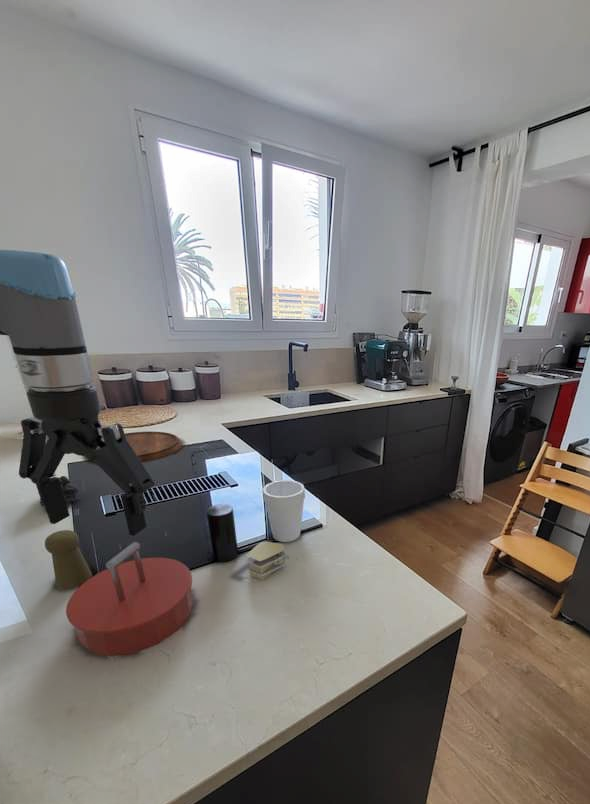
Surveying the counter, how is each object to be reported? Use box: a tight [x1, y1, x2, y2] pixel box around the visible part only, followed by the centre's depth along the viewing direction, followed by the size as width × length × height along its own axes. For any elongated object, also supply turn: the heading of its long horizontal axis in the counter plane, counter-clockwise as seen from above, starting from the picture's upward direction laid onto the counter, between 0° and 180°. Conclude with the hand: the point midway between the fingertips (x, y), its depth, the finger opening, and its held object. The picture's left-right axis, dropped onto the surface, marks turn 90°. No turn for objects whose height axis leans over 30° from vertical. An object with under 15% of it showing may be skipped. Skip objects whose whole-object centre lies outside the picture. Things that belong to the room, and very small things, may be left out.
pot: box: [73, 587, 194, 657], centre depth 68 cm, size 18×18×6 cm
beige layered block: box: [245, 541, 286, 581], centre depth 81 cm, size 10×9×6 cm
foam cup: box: [262, 479, 306, 543], centre depth 92 cm, size 10×9×13 cm
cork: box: [44, 529, 93, 590], centre depth 76 cm, size 6×6×11 cm
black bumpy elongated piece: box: [37, 475, 79, 508], centre depth 106 cm, size 9×8×15 cm
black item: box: [206, 503, 239, 563], centre depth 84 cm, size 5×5×12 cm
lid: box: [65, 541, 193, 634], centre depth 66 cm, size 19×19×9 cm
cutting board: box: [85, 431, 183, 463], centre depth 147 cm, size 32×32×2 cm
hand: (98, 525), depth 60 cm, fingers open, 13 cm apart
